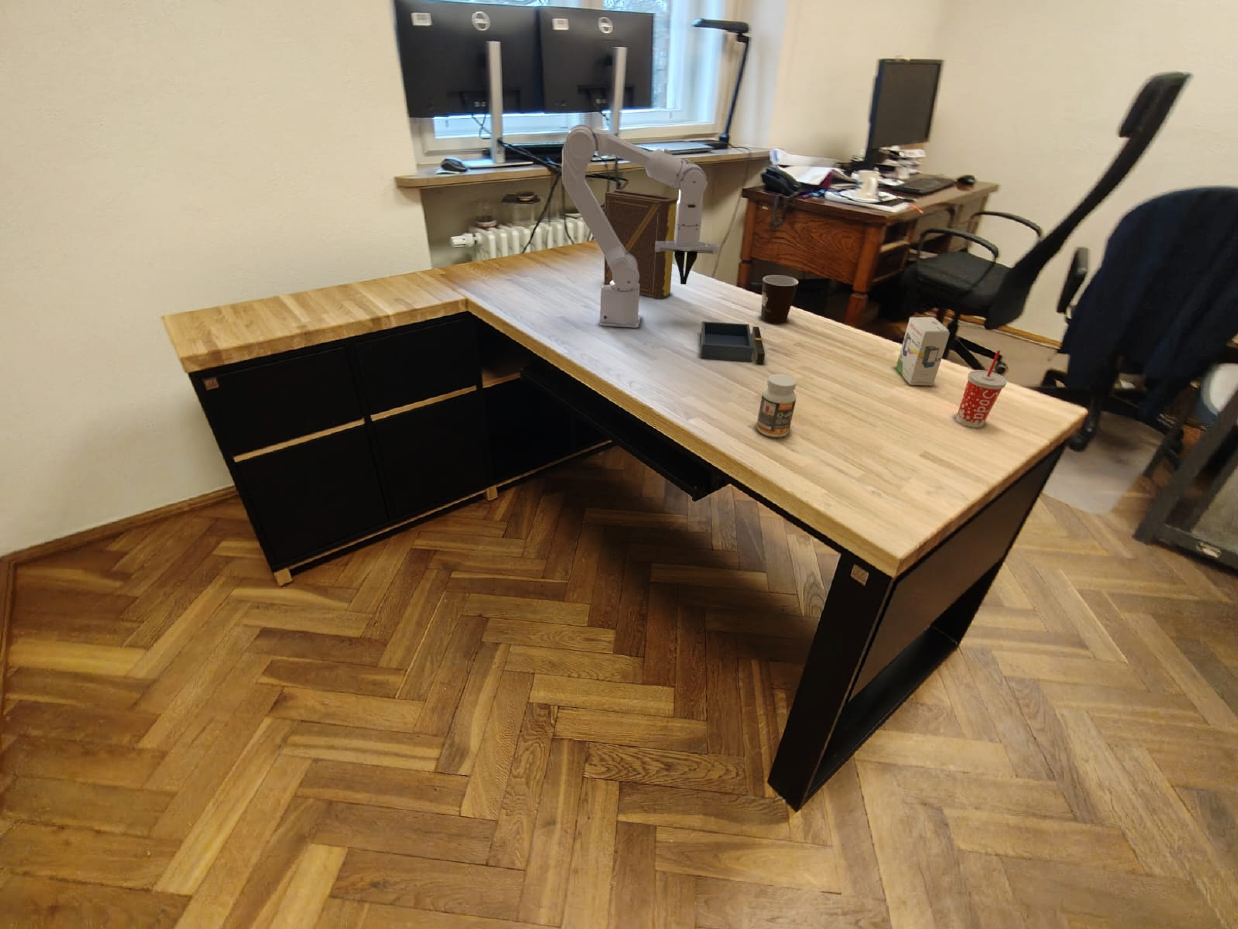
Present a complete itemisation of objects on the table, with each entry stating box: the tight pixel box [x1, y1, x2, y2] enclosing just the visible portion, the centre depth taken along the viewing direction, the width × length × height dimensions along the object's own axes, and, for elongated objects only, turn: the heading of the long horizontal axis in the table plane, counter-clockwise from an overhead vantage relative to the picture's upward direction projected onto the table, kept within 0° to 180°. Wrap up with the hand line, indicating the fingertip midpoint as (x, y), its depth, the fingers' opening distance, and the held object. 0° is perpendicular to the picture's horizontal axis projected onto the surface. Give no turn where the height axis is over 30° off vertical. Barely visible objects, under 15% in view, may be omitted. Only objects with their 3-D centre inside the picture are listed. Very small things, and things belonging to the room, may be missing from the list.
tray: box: [700, 321, 754, 363], centre depth 133 cm, size 11×14×3 cm
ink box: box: [895, 316, 951, 386], centre depth 120 cm, size 9×5×12 cm, turn 178°
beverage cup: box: [955, 349, 1008, 429], centre depth 104 cm, size 6×6×14 cm
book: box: [603, 189, 678, 300], centre depth 160 cm, size 22×8×25 cm, turn 58°
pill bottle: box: [756, 373, 797, 438], centre depth 101 cm, size 6×6×10 cm
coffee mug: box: [760, 274, 799, 325], centre depth 148 cm, size 12×9×10 cm
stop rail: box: [751, 326, 766, 365], centre depth 133 cm, size 2×16×3 cm, turn 173°
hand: (683, 283), depth 141 cm, fingers closed
